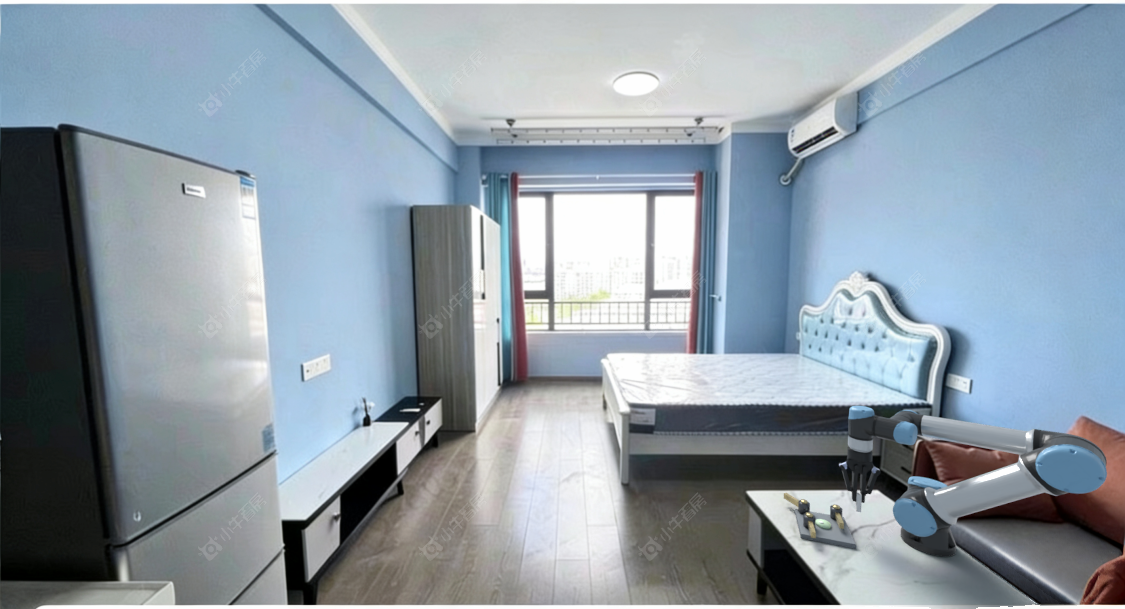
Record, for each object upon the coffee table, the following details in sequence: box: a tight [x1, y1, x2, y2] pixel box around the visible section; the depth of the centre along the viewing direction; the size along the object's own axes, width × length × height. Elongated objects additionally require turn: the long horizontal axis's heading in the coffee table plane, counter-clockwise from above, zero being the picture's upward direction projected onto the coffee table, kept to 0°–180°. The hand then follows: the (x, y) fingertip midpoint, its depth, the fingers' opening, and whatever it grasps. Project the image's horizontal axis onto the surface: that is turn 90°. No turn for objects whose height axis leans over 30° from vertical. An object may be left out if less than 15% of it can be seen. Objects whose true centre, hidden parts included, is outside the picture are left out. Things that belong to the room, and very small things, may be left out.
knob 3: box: [829, 503, 844, 529], centre depth 160 cm, size 12×4×5 cm, turn 157°
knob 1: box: [783, 492, 811, 514], centre depth 172 cm, size 12×4×5 cm, turn 17°
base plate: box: [794, 508, 857, 549], centre depth 160 cm, size 17×18×3 cm
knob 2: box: [803, 512, 816, 538], centre depth 155 cm, size 12×4×5 cm, turn 157°
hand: (857, 509), depth 156 cm, fingers closed
